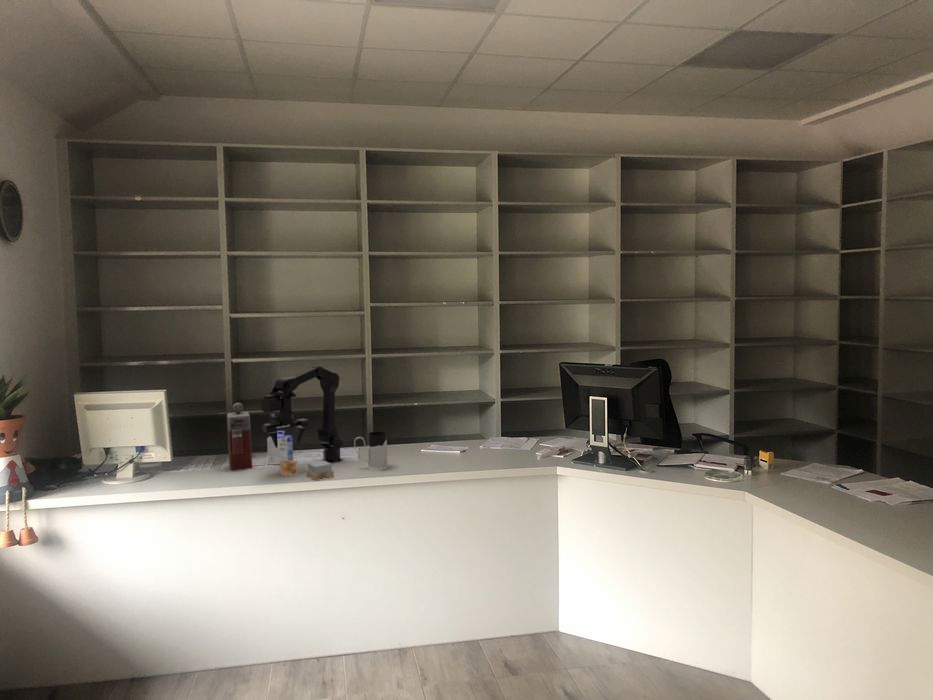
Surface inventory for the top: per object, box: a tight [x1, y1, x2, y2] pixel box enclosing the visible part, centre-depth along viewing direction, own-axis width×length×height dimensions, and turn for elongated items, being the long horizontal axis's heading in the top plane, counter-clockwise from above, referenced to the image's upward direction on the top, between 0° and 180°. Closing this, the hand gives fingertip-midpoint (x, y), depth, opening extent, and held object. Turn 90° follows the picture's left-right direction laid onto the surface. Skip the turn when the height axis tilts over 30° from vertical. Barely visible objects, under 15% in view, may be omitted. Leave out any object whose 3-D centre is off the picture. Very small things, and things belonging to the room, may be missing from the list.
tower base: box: [306, 469, 335, 481], centre depth 274 cm, size 8×8×3 cm
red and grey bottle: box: [226, 402, 253, 471], centre depth 289 cm, size 9×11×28 cm
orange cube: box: [279, 460, 298, 476], centre depth 279 cm, size 5×5×5 cm
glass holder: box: [353, 431, 389, 471], centre depth 286 cm, size 9×14×15 cm, turn 99°
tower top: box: [307, 460, 333, 474], centre depth 274 cm, size 7×7×3 cm
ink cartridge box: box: [266, 430, 294, 465], centre depth 296 cm, size 10×6×14 cm, turn 78°
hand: (287, 445), depth 279 cm, fingers open, 9 cm apart
